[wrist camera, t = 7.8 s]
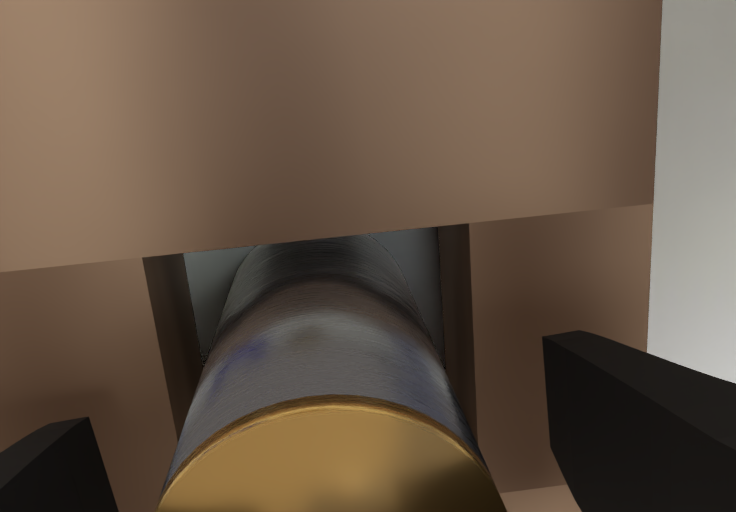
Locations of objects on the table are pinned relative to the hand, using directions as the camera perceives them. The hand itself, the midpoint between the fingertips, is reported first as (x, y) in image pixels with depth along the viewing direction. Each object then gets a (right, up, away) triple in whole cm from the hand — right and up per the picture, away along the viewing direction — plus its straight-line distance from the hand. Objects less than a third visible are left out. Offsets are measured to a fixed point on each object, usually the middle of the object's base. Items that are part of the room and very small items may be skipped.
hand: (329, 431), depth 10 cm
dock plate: (0, +1, +4) cm, 4 cm away
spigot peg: (0, +2, +4) cm, 5 cm away
